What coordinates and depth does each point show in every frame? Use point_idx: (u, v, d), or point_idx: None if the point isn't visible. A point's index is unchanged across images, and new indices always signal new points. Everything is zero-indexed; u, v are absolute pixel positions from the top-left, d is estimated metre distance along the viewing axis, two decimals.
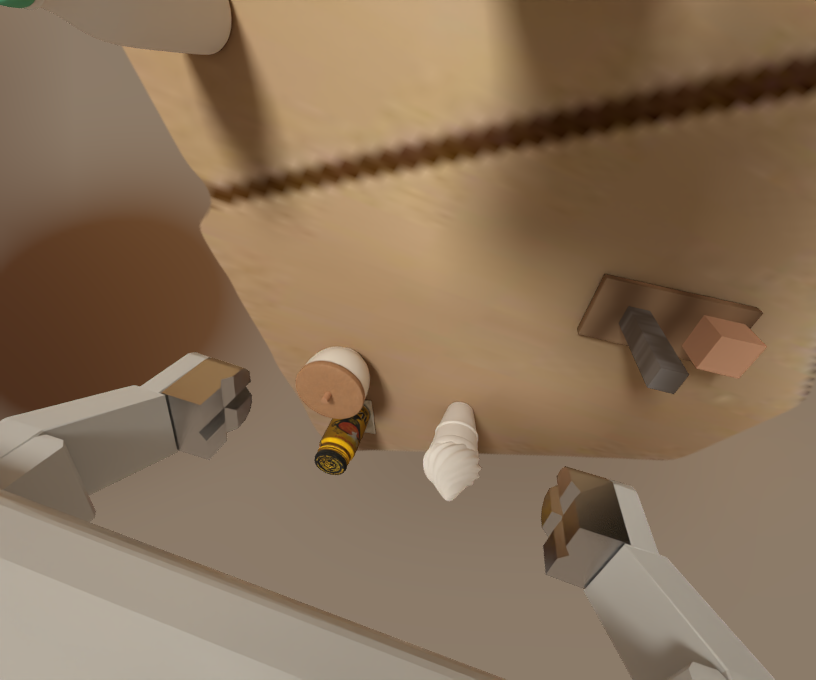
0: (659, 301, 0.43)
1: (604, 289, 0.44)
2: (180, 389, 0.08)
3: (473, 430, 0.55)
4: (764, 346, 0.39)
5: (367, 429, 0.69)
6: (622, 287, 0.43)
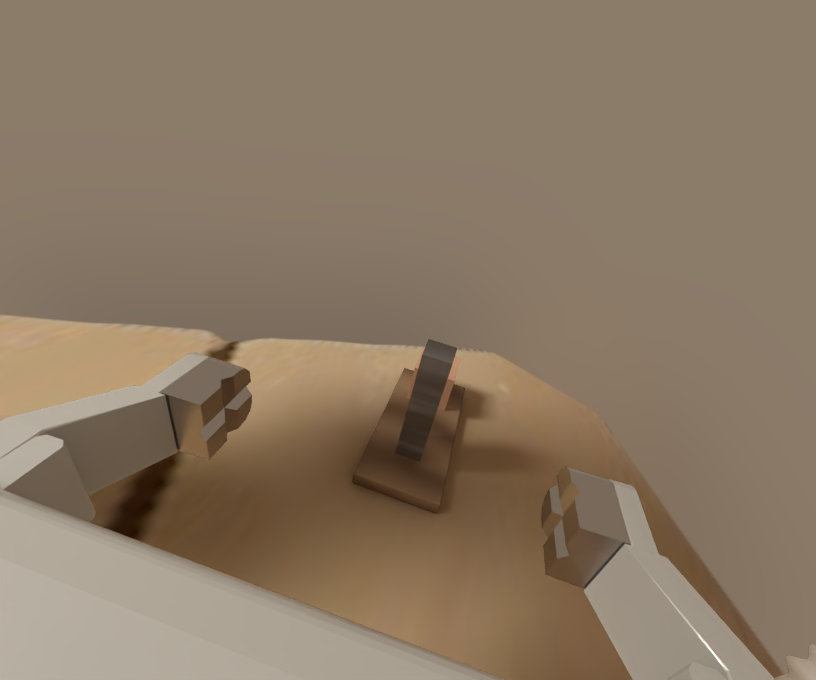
0: (389, 427, 0.38)
1: (370, 476, 0.33)
2: (180, 389, 0.08)
3: None
4: (424, 348, 0.44)
5: None
6: (369, 458, 0.35)
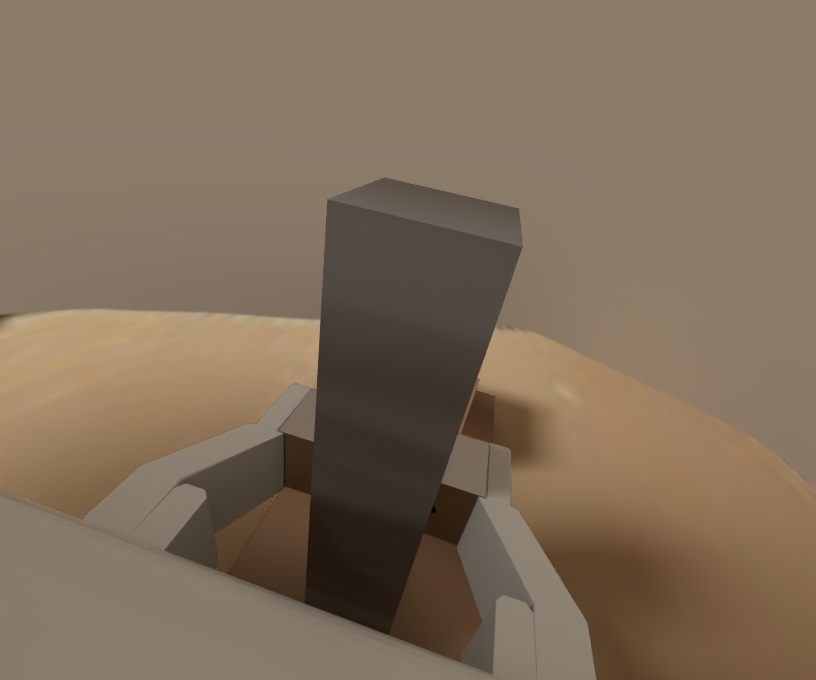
0: (303, 517, 0.14)
1: None
2: (296, 426, 0.08)
3: None
4: None
5: None
6: None
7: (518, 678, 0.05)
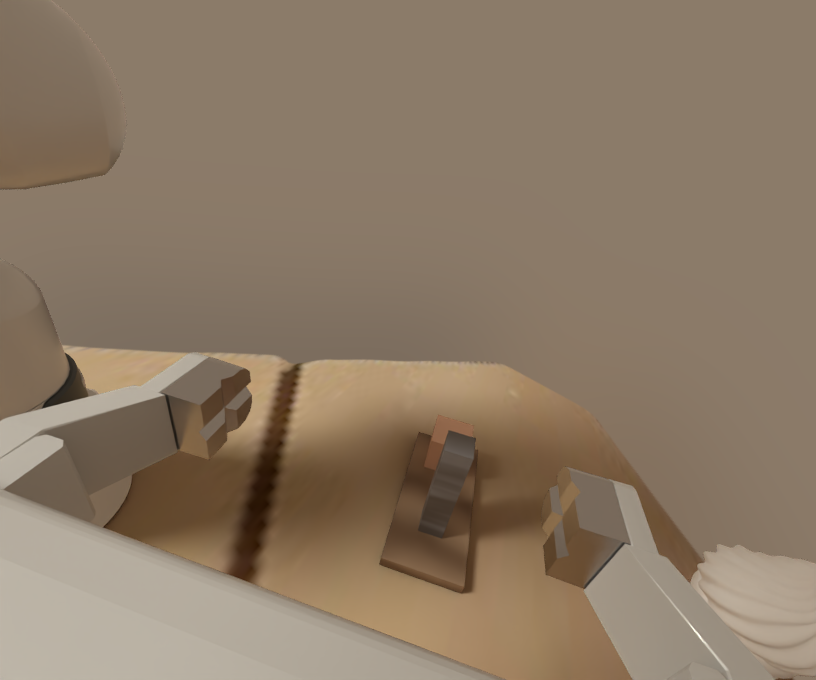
0: (410, 502, 0.40)
1: (396, 559, 0.35)
2: (180, 389, 0.08)
3: None
4: (438, 416, 0.46)
5: None
6: (393, 539, 0.36)
7: None
